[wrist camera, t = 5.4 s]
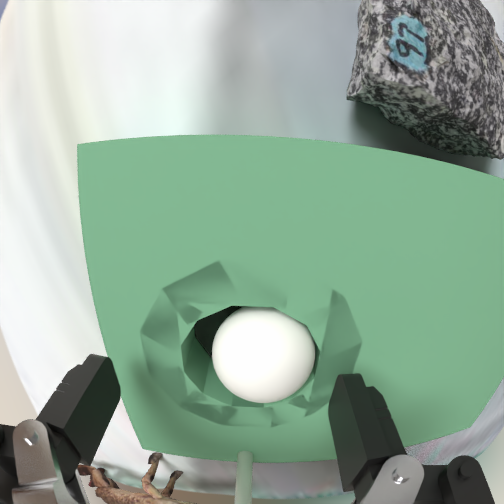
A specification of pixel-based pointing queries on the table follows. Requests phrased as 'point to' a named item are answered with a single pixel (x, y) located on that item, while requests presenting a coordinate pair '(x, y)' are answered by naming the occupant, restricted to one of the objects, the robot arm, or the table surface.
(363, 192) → the green
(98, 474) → the toy
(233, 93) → the table surface
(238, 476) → the pin
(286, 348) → the ball
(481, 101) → the rock
